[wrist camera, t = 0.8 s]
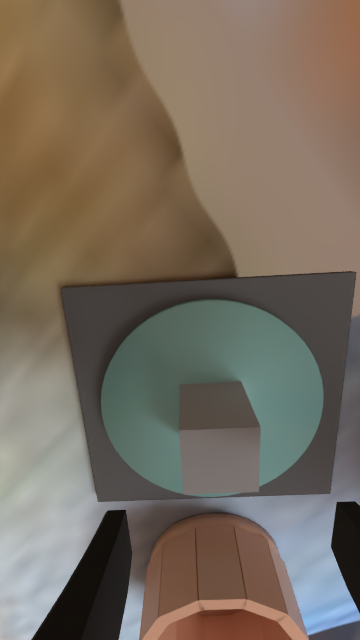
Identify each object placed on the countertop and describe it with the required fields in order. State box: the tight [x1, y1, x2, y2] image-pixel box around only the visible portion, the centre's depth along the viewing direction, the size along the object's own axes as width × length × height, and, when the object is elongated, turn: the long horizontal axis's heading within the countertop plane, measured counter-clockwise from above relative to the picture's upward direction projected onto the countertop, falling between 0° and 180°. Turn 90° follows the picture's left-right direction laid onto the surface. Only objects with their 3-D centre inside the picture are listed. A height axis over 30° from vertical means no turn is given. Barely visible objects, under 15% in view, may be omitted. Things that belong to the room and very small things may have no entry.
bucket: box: [139, 513, 309, 640], centre depth 19 cm, size 10×10×5 cm
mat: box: [61, 271, 356, 502], centre depth 17 cm, size 16×15×1 cm
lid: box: [101, 299, 323, 497], centre depth 14 cm, size 13×13×5 cm
